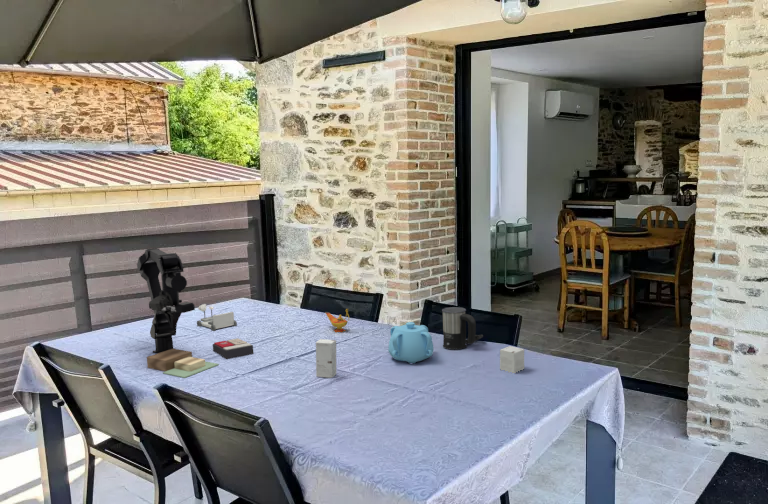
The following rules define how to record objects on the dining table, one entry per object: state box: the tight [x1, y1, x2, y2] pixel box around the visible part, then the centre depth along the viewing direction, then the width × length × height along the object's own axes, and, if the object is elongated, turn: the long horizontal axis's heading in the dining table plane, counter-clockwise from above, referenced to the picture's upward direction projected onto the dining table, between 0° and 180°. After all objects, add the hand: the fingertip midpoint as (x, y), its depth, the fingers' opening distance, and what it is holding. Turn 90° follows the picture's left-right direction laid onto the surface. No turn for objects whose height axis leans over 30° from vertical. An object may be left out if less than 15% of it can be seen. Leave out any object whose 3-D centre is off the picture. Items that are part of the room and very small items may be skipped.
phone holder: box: [196, 303, 238, 332], centre depth 287 cm, size 18×10×12 cm
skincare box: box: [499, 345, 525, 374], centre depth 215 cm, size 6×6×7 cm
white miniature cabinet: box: [315, 338, 337, 379], centre depth 213 cm, size 6×4×12 cm
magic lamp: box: [324, 308, 350, 333], centre depth 273 cm, size 7×18×11 cm, turn 40°
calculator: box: [212, 338, 254, 360], centre depth 245 cm, size 11×4×15 cm
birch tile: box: [174, 356, 206, 371], centre depth 226 cm, size 8×7×2 cm
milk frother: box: [441, 306, 484, 350], centre depth 245 cm, size 14×16×15 cm
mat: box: [162, 360, 220, 379], centre depth 225 cm, size 11×16×1 cm
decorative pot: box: [388, 321, 434, 364], centre depth 230 cm, size 16×16×14 cm
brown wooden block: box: [146, 348, 193, 372], centre depth 230 cm, size 10×12×4 cm
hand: (173, 328), depth 236 cm, fingers closed
